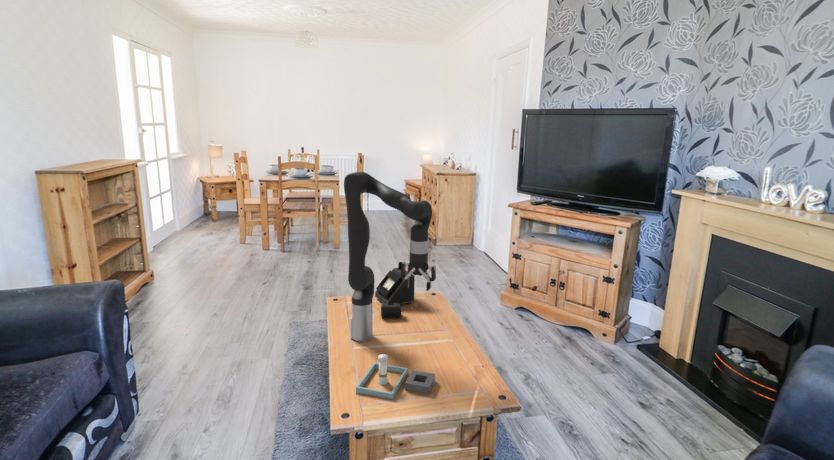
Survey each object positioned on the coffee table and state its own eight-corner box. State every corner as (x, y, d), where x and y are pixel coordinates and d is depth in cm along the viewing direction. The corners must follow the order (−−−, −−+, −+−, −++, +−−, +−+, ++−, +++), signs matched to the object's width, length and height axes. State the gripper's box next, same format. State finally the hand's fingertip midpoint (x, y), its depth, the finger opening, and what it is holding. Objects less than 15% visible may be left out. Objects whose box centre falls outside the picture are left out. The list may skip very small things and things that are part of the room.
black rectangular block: (381, 320, 222) (381, 307, 220) (380, 314, 229) (380, 302, 227) (401, 319, 223) (401, 307, 222) (399, 313, 230) (400, 301, 229)
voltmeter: (374, 298, 249) (374, 264, 244) (400, 294, 257) (400, 260, 252) (387, 309, 235) (387, 273, 231) (414, 303, 243) (414, 268, 239)
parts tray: (355, 394, 161) (355, 387, 160) (374, 369, 177) (374, 362, 177) (392, 401, 157) (392, 394, 156) (407, 375, 174) (407, 368, 173)
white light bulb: (376, 384, 166) (376, 358, 163) (380, 379, 169) (380, 353, 167) (385, 386, 165) (385, 359, 162) (388, 381, 168) (389, 354, 166)
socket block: (405, 392, 162) (405, 382, 161) (412, 379, 171) (412, 370, 170) (428, 397, 160) (429, 387, 159) (434, 383, 168) (435, 374, 167)
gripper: (399, 251, 177) (398, 289, 180) (433, 255, 173) (432, 294, 177) (404, 246, 184) (403, 283, 187) (438, 250, 180) (436, 287, 184)
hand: (417, 288), depth 182 cm, fingers open, 8 cm apart
